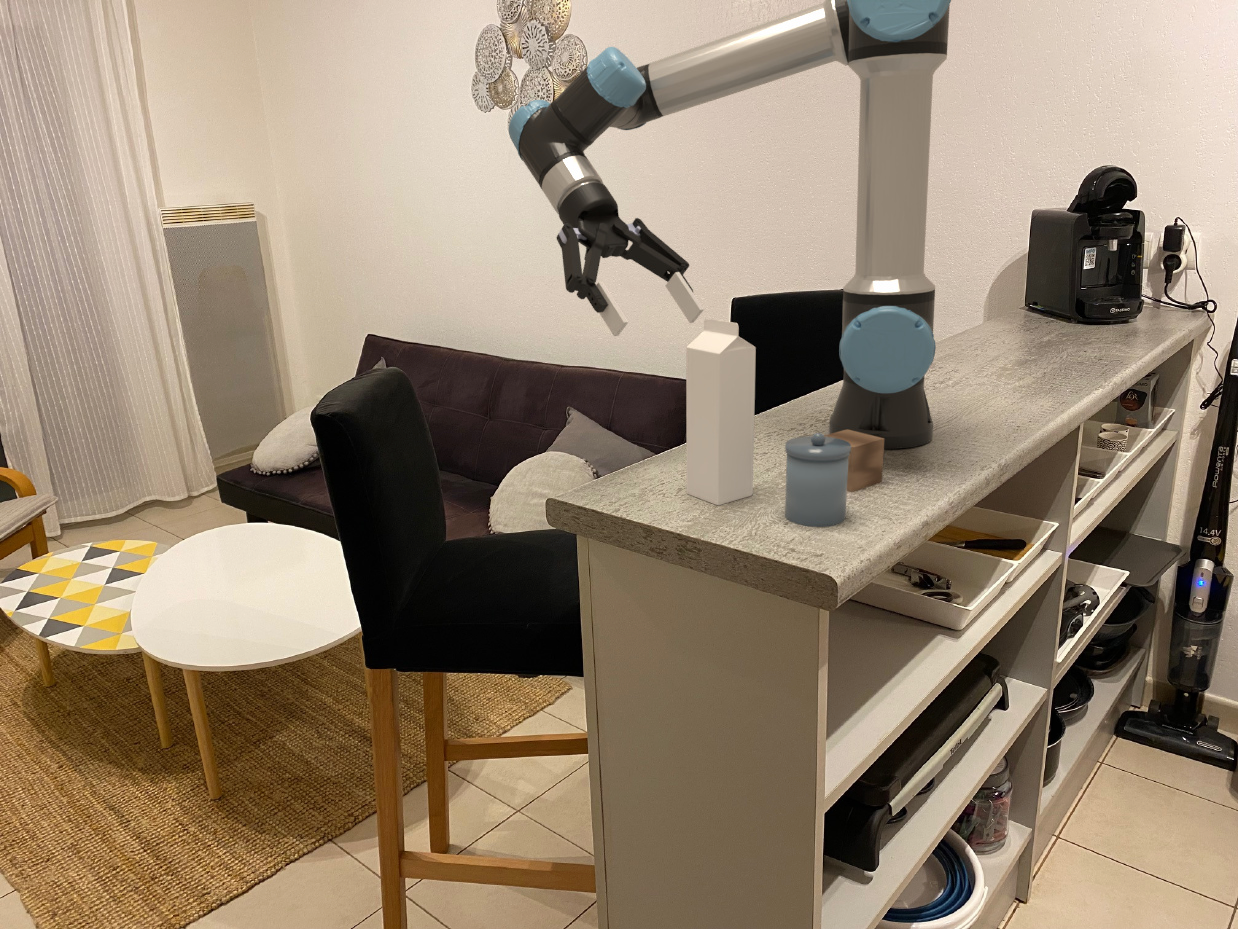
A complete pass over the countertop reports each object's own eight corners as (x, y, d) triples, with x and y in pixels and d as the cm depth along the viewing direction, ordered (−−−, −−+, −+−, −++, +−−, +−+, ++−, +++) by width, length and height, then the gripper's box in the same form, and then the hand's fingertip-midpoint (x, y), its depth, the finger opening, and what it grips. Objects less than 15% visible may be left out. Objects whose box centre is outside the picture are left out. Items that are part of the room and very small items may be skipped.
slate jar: (823, 502, 117) (827, 421, 114) (860, 521, 110) (864, 436, 107) (771, 511, 114) (773, 429, 111) (805, 531, 108) (808, 445, 105)
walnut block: (845, 472, 128) (847, 429, 126) (881, 482, 124) (884, 438, 122) (815, 481, 125) (816, 437, 123) (851, 492, 120) (853, 447, 118)
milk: (718, 506, 116) (719, 326, 110) (685, 494, 121) (684, 320, 114) (753, 495, 120) (757, 320, 113) (721, 483, 125) (722, 314, 118)
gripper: (635, 215, 139) (711, 328, 133) (494, 224, 123) (573, 354, 117) (660, 176, 134) (740, 293, 127) (517, 181, 118) (600, 315, 112)
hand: (660, 322), depth 122 cm, fingers open, 13 cm apart
